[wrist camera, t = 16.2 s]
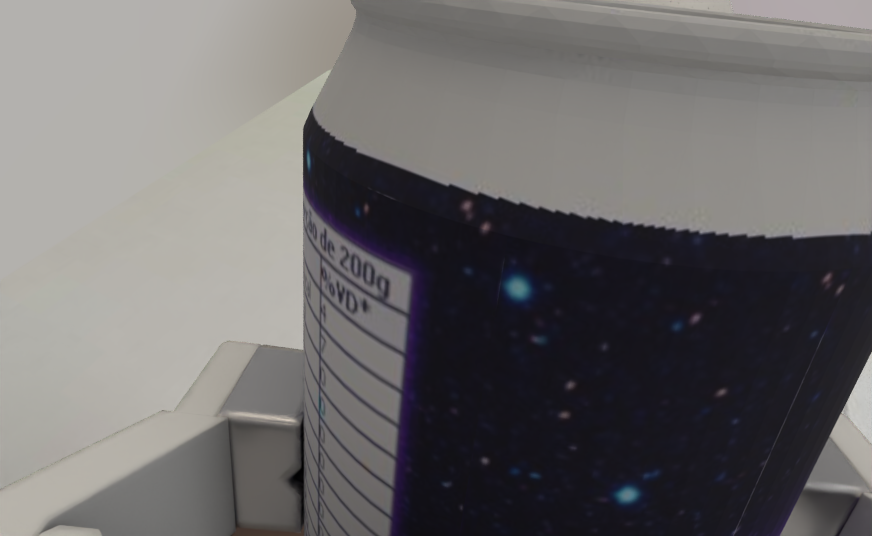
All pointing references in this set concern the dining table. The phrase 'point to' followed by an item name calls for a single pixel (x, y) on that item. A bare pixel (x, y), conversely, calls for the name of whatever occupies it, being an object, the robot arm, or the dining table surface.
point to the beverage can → (581, 268)
